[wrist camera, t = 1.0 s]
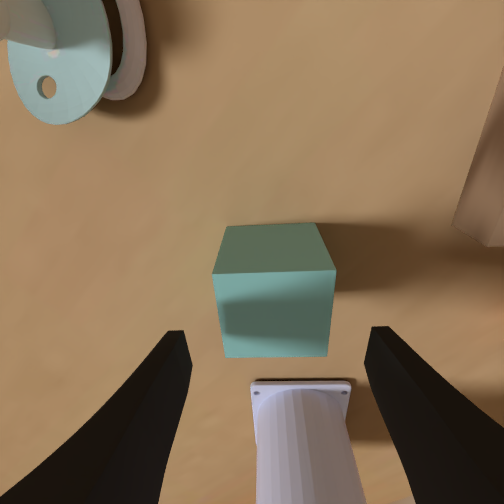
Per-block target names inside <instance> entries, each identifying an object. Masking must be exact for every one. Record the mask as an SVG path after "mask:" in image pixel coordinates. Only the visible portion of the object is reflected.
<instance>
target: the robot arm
mask: <svg viewBox="0 0 504 504" xmlns="http://www.w3.org/2000/svg"><path fill="white" fill-rule="evenodd" d="M364 365H365V369H366V373H367V376H368V380H369V383H370V386H371V389H372V392H373V395H374V397H375V400H376V402H377V405H378V407H379V409H380V412H381V414H382V417H383V419H384V421H385V424H386V426H387V429H388V431H389V433H390V436H391V438H392V441H393V443H394V445H395V448H396V450H397V452H398V455H399V457H400V460H401V462H402V465H403V467H404V470H405V473H406V475H407V478H408V481H409V484H410V487H411V490H412V493H413V496H414V499H415V502H416V504H504V428H503V427H502V426H501V425H499V424H498V423H497V422H495V421H494V420H493V419H492V418H490V417H489V416H488V415H487V414H485V413H484V412H483V411H482V410H480V409H479V408H478V407H477V406H476V405H474V404H473V403H472V402H471V401H470V400H468V399H467V398H466V397H465V396H464V395H462V394H461V393H460V392H459V391H458V390H457V389H455V388H454V387H453V386H452V385H451V384H450V383H449V382H447V381H446V380H445V379H444V378H443V377H442V376H441V375H440V374H439V373H437V372H436V371H435V370H434V369H433V368H432V367H431V366H430V365H429V364H428V363H427V362H426V361H424V360H423V359H422V358H421V357H420V356H419V355H418V354H417V353H416V352H415V351H414V350H413V349H412V348H411V347H410V346H409V345H408V344H407V343H406V342H405V341H403V340H402V339H401V338H400V337H399V336H398V335H397V334H396V333H395V332H394V331H393V330H392V329H391V328H390V327H389V326H378V327H372V328H371V333H370V338H369V342H368V347H367V351H366V356H365V360H364ZM192 366H193V365H192V361H191V357H190V353H189V350H188V346H187V342H186V338H185V334H184V330H178V331H168V332H167V333H166V334H165V335H164V336H163V337H162V339H161V340H160V341H159V342H158V344H157V345H156V346H155V347H154V348H153V350H152V351H151V352H150V353H149V355H148V356H147V357H146V358H145V359H144V361H143V362H142V363H141V364H140V365H139V366H138V368H137V369H136V370H135V371H134V372H133V373H132V375H131V376H130V377H129V378H128V379H127V380H126V381H125V383H124V384H123V385H122V386H121V387H120V388H119V389H118V390H117V391H116V392H115V393H114V394H113V395H112V397H111V398H110V399H109V400H108V401H107V402H106V403H105V404H104V405H103V406H102V407H101V408H100V409H99V410H98V411H97V412H96V413H95V414H94V415H93V416H92V417H91V418H90V419H89V420H88V421H87V422H86V423H85V424H84V425H83V426H82V427H81V428H80V429H79V430H78V431H77V432H76V433H75V434H74V435H72V436H71V437H70V438H69V439H68V440H67V441H66V442H65V443H64V444H62V445H61V446H60V447H59V448H58V449H57V450H56V451H55V452H54V453H52V454H51V455H50V456H49V457H48V458H47V459H46V460H44V461H43V462H42V463H41V464H40V465H39V466H37V467H36V468H35V469H34V470H33V471H32V472H30V473H29V474H28V475H27V476H25V477H24V478H23V479H22V480H20V481H19V482H18V483H17V484H15V485H14V486H13V487H12V488H11V489H9V490H8V491H7V492H6V493H4V494H3V495H2V496H1V497H0V504H158V501H159V497H160V492H161V487H162V482H163V478H164V473H165V469H166V465H167V461H168V458H169V454H170V451H171V447H172V444H173V441H174V437H175V434H176V431H177V427H178V424H179V421H180V417H181V414H182V410H183V407H184V404H185V400H186V397H187V393H188V388H189V383H190V377H191V371H192ZM250 389H251V399H252V409H253V419H254V428H255V438H256V445H257V482H256V504H367V503H366V499H365V495H364V491H363V488H362V484H361V480H360V476H359V473H358V469H357V465H356V461H355V457H354V454H353V450H352V446H351V442H350V439H349V435H348V431H347V427H346V423H345V419H346V414H347V408H348V403H349V398H350V393H351V385H350V383H349V382H348V381H255V382H252V383H251V388H250Z"/></svg>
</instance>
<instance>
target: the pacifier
mask: <svg viewBox="0 0 504 504" xmlns="http://www.w3.org/2000/svg"><path fill="white" fill-rule="evenodd" d="M116 3H117V7H118V10H119V13H120V19H121V25H122V31H123V54H122V59H121V64H120V66H119V68H118V69H117V71H116V73H115V74H113V75H112V76H111V69H112V40H111V33H110V28H109V23H108V18H107V15H106V11H105V8H104V5H103V2H102V0H0V41H1V40H3V39H6V40H8V60H9V64H10V72H11V75H12V78H13V82H14V85H15V87H16V90H17V92H18V95H19V97H20V99H21V100H22V102H23V103H24V105H25V107H26V108H27V109H28V110H29V111H30V112H31V114H32V115H34V116H35V117H36V118H38V119H39V120H41V121H43V122H45V123H48V124H54V125H59V124H68V123H71V122H74V121H77V120H78V119H80V118H82V117H84V116H85V115H86V114H88V113H89V112H90V111H91V110H92V109H93V108H94V107H95V106H96V104H97V103H98V102H99V101H100V99H101V98H102V97H104V98H107V99H110V100H124V99H126V98H127V97H129V96H131V95H132V94H134V93H135V91H136V90H137V88H138V87H139V85H140V83H141V82H142V78H143V74H144V71H145V67H146V51H147V41H146V33H145V25H144V17H143V13H142V10H141V6H140V2H139V0H116ZM48 76H50V77H52V78H53V79H54V80H55V82H56V85H57V90H56V93H55V95H54V96H53V97H52V98H50V99H49V98H47V97H46V96H45V95H44V93H43V91H42V83H43V80H44V79H45V78H46V77H48Z"/></svg>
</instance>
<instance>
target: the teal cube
mask: <svg viewBox="0 0 504 504" xmlns="http://www.w3.org/2000/svg"><path fill="white" fill-rule="evenodd" d="M336 271H337V270H336V268H335V266H334V264H333V261H332V259H331V257H330V255H329V253H328V250H327V248H326V246H325V244H324V242H323V240H322V237H321V235H320V233H319V231H318V229H317V226H316V224H315V223H297V224H274V225H251V226H228V227H226V230H225V233H224V236H223V240H222V243H221V246H220V250H219V253H218V256H217V259H216V263H215V266H214V269H213V272H212V278H213V284H214V290H215V296H216V302H217V308H218V315H219V321H220V327H221V333H222V339H223V346H224V352H225V358H246V357H325V356H327V352H328V343H329V334H330V325H331V316H332V307H333V298H334V289H335V280H336Z"/></svg>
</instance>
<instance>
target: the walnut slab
mask: <svg viewBox="0 0 504 504" xmlns="http://www.w3.org/2000/svg"><path fill="white" fill-rule="evenodd" d="M451 225H452V226H454V227H455V228H457V229H458V230H460V231H462V232H463V233H465V234H467V235H468V236H470V237H472V238H473V239H475V240H476V241H478V242H480V243H481V244H483V245H485V246H486V247H500V246H504V67H503V70H502V73H501V76H500V79H499V82H498V85H497V88H496V91H495V94H494V97H493V100H492V103H491V106H490V109H489V112H488V115H487V118H486V121H485V124H484V128H483V131H482V134H481V137H480V140H479V143H478V146H477V149H476V152H475V155H474V158H473V161H472V164H471V167H470V170H469V173H468V176H467V179H466V182H465V185H464V188H463V191H462V194H461V197H460V200H459V203H458V206H457V209H456V212H455V215H454V218H453V221H452V224H451Z"/></svg>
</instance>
